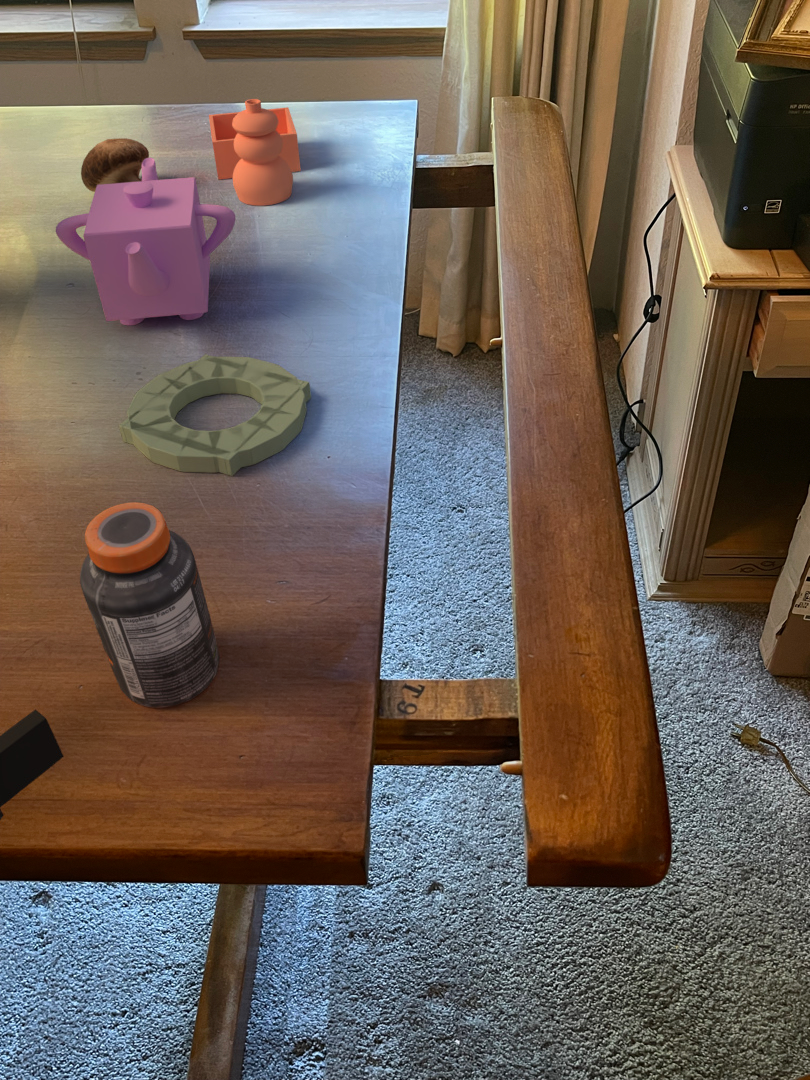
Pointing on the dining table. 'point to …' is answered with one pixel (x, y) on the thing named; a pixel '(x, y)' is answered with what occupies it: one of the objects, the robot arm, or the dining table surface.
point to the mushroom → (113, 162)
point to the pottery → (256, 152)
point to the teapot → (149, 246)
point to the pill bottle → (148, 606)
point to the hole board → (221, 448)
